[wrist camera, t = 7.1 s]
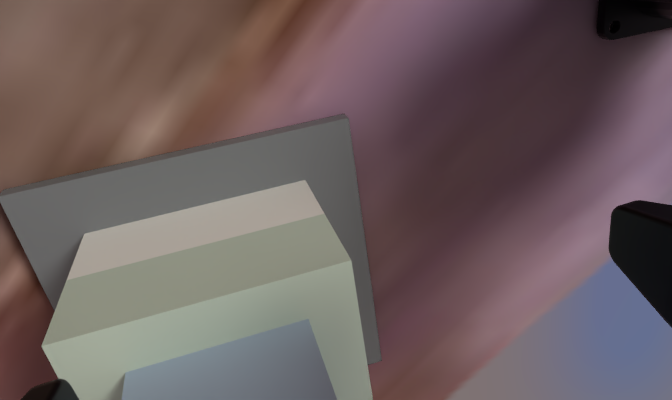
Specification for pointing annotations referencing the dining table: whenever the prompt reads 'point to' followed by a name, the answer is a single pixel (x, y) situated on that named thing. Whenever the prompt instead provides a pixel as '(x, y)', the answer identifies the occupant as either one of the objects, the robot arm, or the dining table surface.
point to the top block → (240, 370)
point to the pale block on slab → (203, 255)
